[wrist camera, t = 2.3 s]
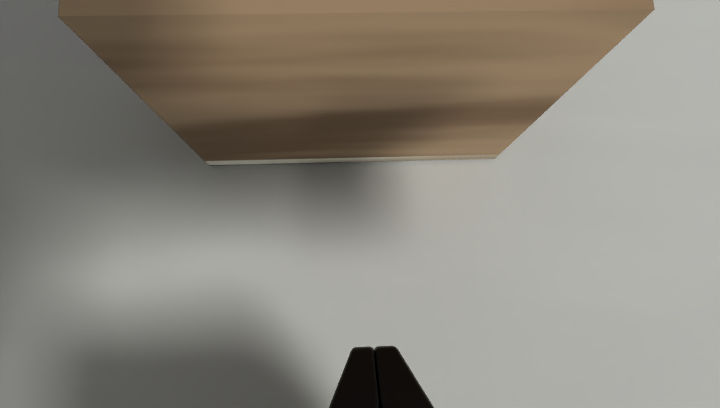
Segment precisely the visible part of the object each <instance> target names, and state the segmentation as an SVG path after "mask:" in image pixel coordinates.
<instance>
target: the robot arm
mask: <svg viewBox="0 0 720 408" xmlns="http://www.w3.org/2000/svg"><path fill="white" fill-rule="evenodd" d="M329 408H434V407H433V405H432V404H431V402H430V401H429V399H428V397H427V396H426V394H425V392H424V391H423V389H422V388H421V386H420V384H419V383H418V381H417V380H416V378H415V376H414V375H413V373H412V371H411V370H410V368H409V367H408V365H407V363H406V362H405V360H404V359H403V357H402V355H401V354H400V352H399V351H398V349H397V348H396V347H394V346H378V347H376V348H375V349H373V348H372V347H355V348H353V349H352V350H351V352H350V355H349V357H348V360H347V363H346V365H345V368H344V370H343V373H342V375H341V378H340V381H339V383H338V386H337V388H336V391H335V393H334V396H333V399H332V401H331V404H330V406H329Z"/></svg>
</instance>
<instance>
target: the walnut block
mask: <svg viewBox="0 0 720 408" xmlns="http://www.w3.org/2000/svg"><path fill="white" fill-rule="evenodd" d="M653 10H654V3H653V0H60V1H59V12H58V17H59V18H60V19H61V20H62V21H63V22H64V23H65V24H66V25H67V26H68V27H69V28H70V29H71V30H72V31H73V32H74V33H76V34H77V35H78V36H79V37H80V38H81V39H82V40H83V41H84V42H85V43H86V44H87V45H88V46H89V47H90V48H91V49H92V50H93V51H94V52H95V53H96V54H97V55H98V56H99V57H100V58H101V59H102V60H103V61H104V62H105V63H106V64H107V65H108V66H109V67H110V68H111V69H112V70H113V71H114V72H115V73H116V74H117V75H118V76H119V77H120V78H121V79H122V80H123V81H124V82H125V83H126V84H127V85H128V86H129V87H130V88H131V89H132V90H133V91H134V92H135V93H136V94H137V95H138V96H139V97H140V98H141V99H142V100H143V101H144V102H145V103H146V104H147V105H148V106H149V107H150V108H151V109H152V110H153V111H154V112H155V113H156V114H158V115H159V116H160V117H161V118H162V119H163V120H164V121H165V122H166V123H167V124H168V125H169V126H170V127H171V128H172V129H173V130H174V131H175V132H176V133H177V134H178V135H179V136H180V137H181V138H182V139H183V140H184V141H185V142H186V143H187V144H188V145H189V146H190V147H191V148H192V149H193V150H194V151H195V152H196V153H197V154H198V155H199V156H200V157H201V158H202V159H203V160H204V161H205V162H206V163H207V164H208V165H233V164H277V163H322V162H366V161H410V160H454V159H495V158H496V157H497V156H498V155H499V154H500V153H501V152H502V151H503V150H505V149H506V148H507V147H508V146H509V145H510V144H511V143H512V142H513V141H514V140H515V139H516V138H517V137H518V136H519V135H521V134H522V133H523V132H524V131H525V130H526V129H527V128H528V127H529V126H530V125H531V124H532V123H533V122H534V121H536V120H537V119H538V118H539V117H540V116H541V115H542V114H543V113H544V112H545V111H546V110H547V109H548V108H549V107H551V106H552V105H553V104H554V103H555V102H556V101H557V100H558V99H559V98H560V97H561V96H562V95H563V94H564V93H566V92H567V91H568V90H569V89H570V88H571V87H572V86H573V85H574V84H575V83H576V82H577V81H578V80H579V79H581V78H582V77H583V76H584V75H585V74H586V73H587V72H588V71H589V70H590V69H591V68H592V67H593V66H594V65H596V64H597V63H598V62H599V61H600V60H601V59H602V58H603V57H604V56H605V55H606V54H607V53H608V52H609V51H610V50H612V49H613V48H614V47H615V46H616V45H617V44H618V43H619V42H620V41H621V40H622V39H623V38H624V37H625V36H627V35H628V34H629V33H630V32H631V31H632V30H633V29H634V28H635V27H636V26H637V25H638V24H639V23H640V22H642V21H643V20H644V19H645V18H646V17H647V16H648V15H649V14H650V13H651V12H652V11H653Z"/></svg>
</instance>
